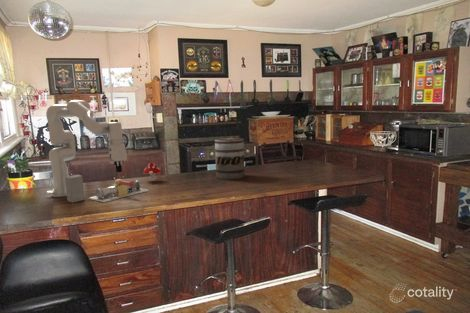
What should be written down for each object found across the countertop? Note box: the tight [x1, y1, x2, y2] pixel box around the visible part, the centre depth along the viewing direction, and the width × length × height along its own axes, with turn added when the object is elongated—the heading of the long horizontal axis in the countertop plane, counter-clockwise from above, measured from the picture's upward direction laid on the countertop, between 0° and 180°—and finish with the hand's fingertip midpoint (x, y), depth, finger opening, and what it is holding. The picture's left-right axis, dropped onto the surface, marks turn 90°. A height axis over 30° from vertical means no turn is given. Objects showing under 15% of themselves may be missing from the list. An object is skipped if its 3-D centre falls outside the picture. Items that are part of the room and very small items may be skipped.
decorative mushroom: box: [142, 161, 162, 182], centre depth 274 cm, size 14×14×15 cm
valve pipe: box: [88, 180, 149, 203], centre depth 234 cm, size 34×16×7 cm, turn 143°
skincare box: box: [65, 174, 85, 204], centre depth 221 cm, size 8×7×16 cm
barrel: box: [214, 137, 246, 181], centre depth 282 cm, size 22×22×30 cm
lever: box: [114, 178, 135, 187], centre depth 230 cm, size 17×4×3 cm, turn 53°
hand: (119, 171), depth 222 cm, fingers closed
